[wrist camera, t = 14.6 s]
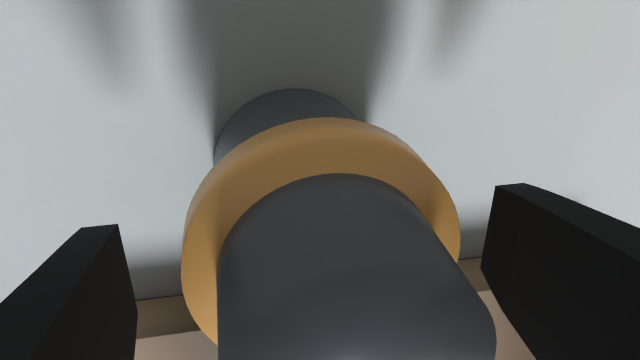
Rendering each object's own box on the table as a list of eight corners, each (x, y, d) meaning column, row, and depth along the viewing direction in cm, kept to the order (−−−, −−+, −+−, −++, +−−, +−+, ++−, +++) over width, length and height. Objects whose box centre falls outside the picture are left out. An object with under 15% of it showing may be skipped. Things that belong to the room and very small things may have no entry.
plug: (205, 257, 14) (203, 522, 8) (172, 74, 11) (131, 260, 5) (384, 230, 15) (508, 454, 9) (390, 55, 12) (568, 197, 6)
